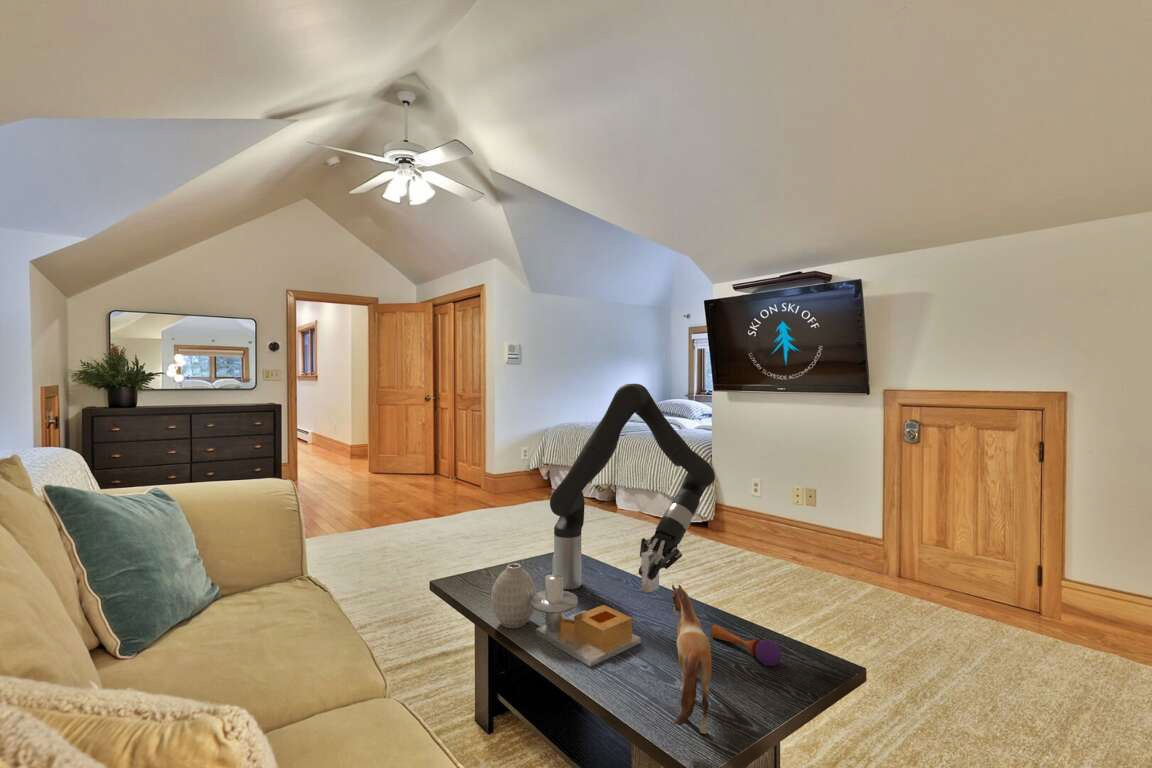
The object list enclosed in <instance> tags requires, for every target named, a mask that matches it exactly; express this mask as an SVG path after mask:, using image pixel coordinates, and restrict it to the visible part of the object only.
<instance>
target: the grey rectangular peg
mask: <svg viewBox="0 0 1152 768" xmlns="http://www.w3.org/2000/svg"><path fill="white" fill-rule="evenodd" d="M657 553H658V551H655V550H650V551H647V552H644V553H642V556H641V557H640V558H641V563H640V564H641V565H640V566H641V570H642V575H641V577H640V579H641V583H640V584H641V591H643V592H646V593H651V592H654V591H656V590H658V589H660V571H659V572H658V574H657V575H656V577H655V578H654V579H653V580H650V579H649V578H648V577H647V574H648V573H649V571H650V569H651V567H652V565H653V564H655V563H654V562H655V560H656V558H657Z"/></svg>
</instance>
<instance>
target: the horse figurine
mask: <svg viewBox="0 0 1152 768" xmlns="http://www.w3.org/2000/svg"><path fill="white" fill-rule="evenodd" d="M677 586H678V588H676V587H675V586H674V584H671V589H672V591H673V594H672V596H671V598H672V601H673V603H674V608H673V613H674V614H675V616H677V617H680V620H679V621H678V625H677V629H676V636H677V639H676V648H677V656H678V665H679V667H680V668H681V678H682V681H681V686H680V687H679V691H680V692H681V693H682V695H681V700H680V712H679V715H678V717H676V718H675V720H673V722H672V723H673V724H674V725H677V726H682V725H684V724H685V723H686V722H687V720H688V719H690V717H691V716H692V714H693V712H694V709H695V706H696V696H697V689H698V687H697V686H698V683H697V682H698V681H697V680H698V679H697V678H698V677H699V679H700V685H701V691H702V697H701V698H702V699H701V704H702V705H701V706H702V709H703V717H702V721H701V725H700V728H699V733H701V734H704V735H706V734H708V709H709V698H708V696H709V691H710V679H711V677H712V650H711V648H712V647H711V643H710V639H709V637H708V636H707V635H706V634H705V633H704V631H703V626H702V624H701V621H700V620H699V618H698V617H697V614H696V612H695V610H694V607H693V604H692V601H691V599H690V597H689V595H688V593H687V592H686V591H685V590H684V589H683V587H682V586H681V584H678V585H677Z"/></svg>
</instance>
